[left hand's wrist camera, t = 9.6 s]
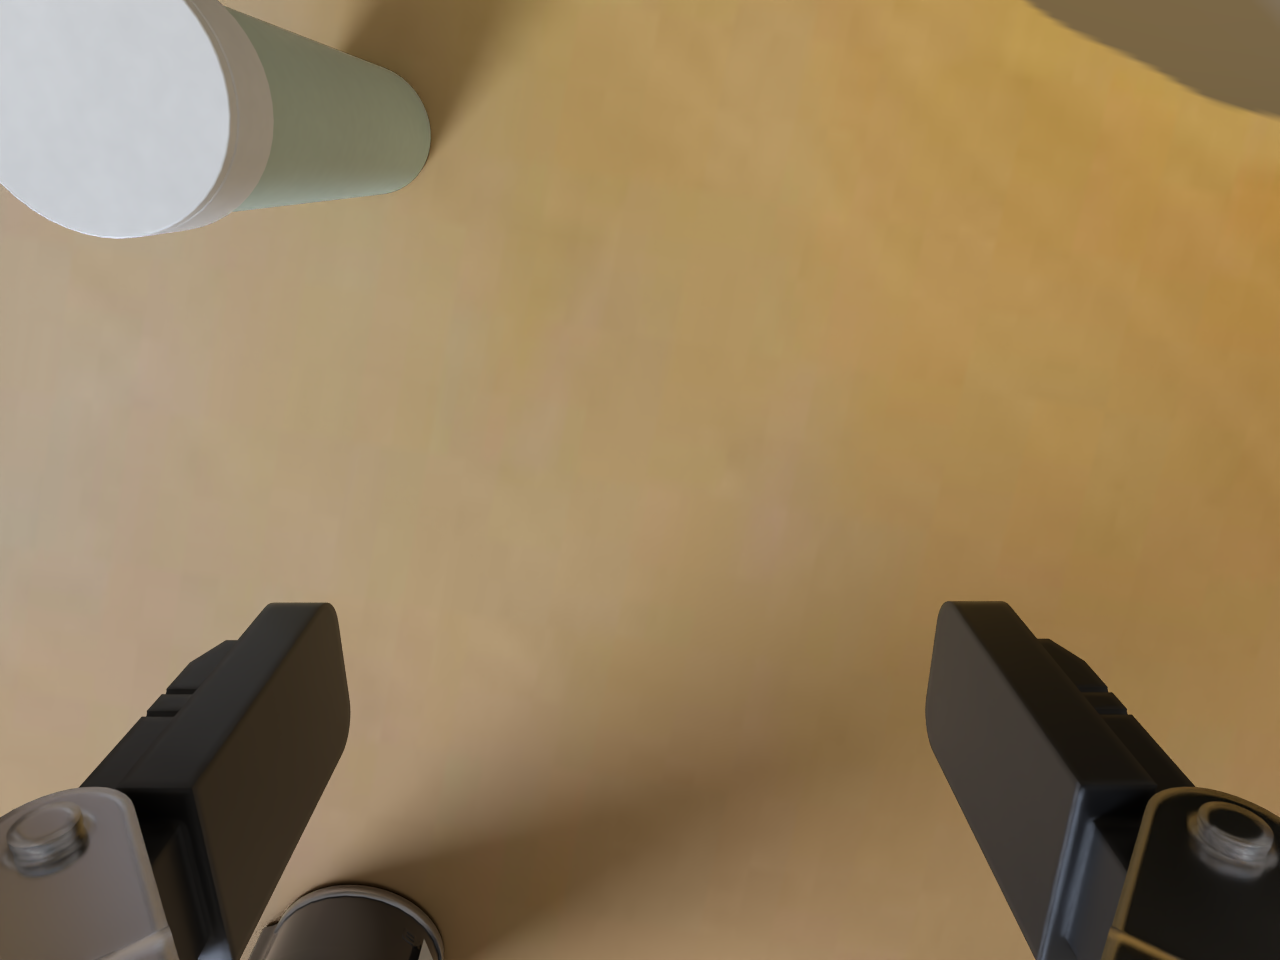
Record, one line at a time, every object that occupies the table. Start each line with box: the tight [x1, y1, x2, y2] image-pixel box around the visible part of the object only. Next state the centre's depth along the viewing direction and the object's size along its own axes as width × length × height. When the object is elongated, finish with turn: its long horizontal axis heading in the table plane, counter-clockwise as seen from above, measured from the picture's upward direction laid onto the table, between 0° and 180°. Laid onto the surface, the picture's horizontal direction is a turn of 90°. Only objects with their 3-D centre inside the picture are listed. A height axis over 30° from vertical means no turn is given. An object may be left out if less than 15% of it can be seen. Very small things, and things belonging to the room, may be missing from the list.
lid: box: [0, 0, 274, 239], centre depth 17 cm, size 5×5×2 cm
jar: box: [224, 6, 431, 212], centre depth 25 cm, size 5×5×18 cm
